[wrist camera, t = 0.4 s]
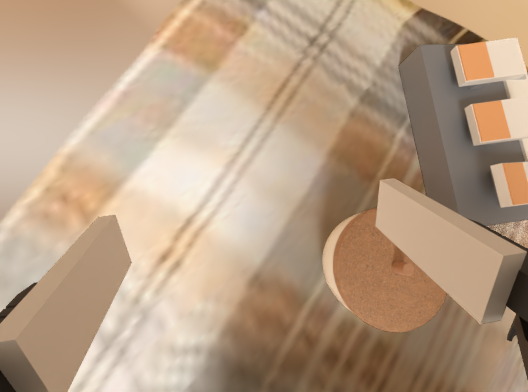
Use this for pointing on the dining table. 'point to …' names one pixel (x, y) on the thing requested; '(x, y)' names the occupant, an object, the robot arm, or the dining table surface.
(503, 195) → the switch
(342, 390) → the dining table surface
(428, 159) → the switch unit
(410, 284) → the lidded jar
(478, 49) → the switch
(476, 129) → the switch
